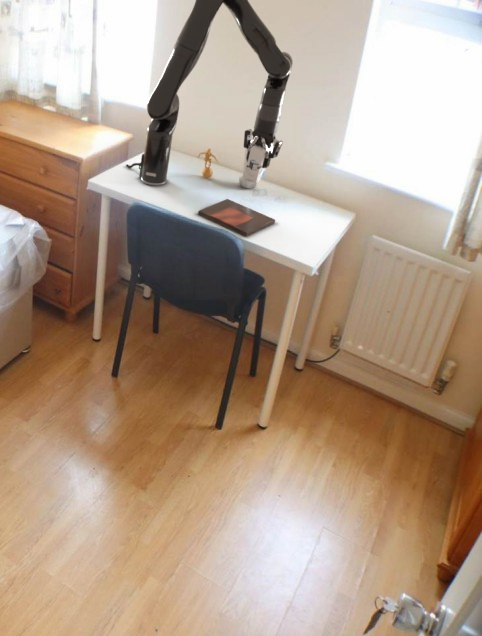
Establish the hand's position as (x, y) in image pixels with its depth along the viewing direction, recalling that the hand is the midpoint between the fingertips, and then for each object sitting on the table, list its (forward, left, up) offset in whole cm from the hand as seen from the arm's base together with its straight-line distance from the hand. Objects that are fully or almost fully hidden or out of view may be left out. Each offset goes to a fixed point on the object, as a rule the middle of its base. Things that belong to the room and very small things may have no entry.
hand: (257, 164), depth 244 cm
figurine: (-23, +4, -15) cm, 27 cm away
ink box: (0, 0, -5) cm, 5 cm away
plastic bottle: (-9, +11, -15) cm, 20 cm away
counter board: (+5, -14, -14) cm, 21 cm away
